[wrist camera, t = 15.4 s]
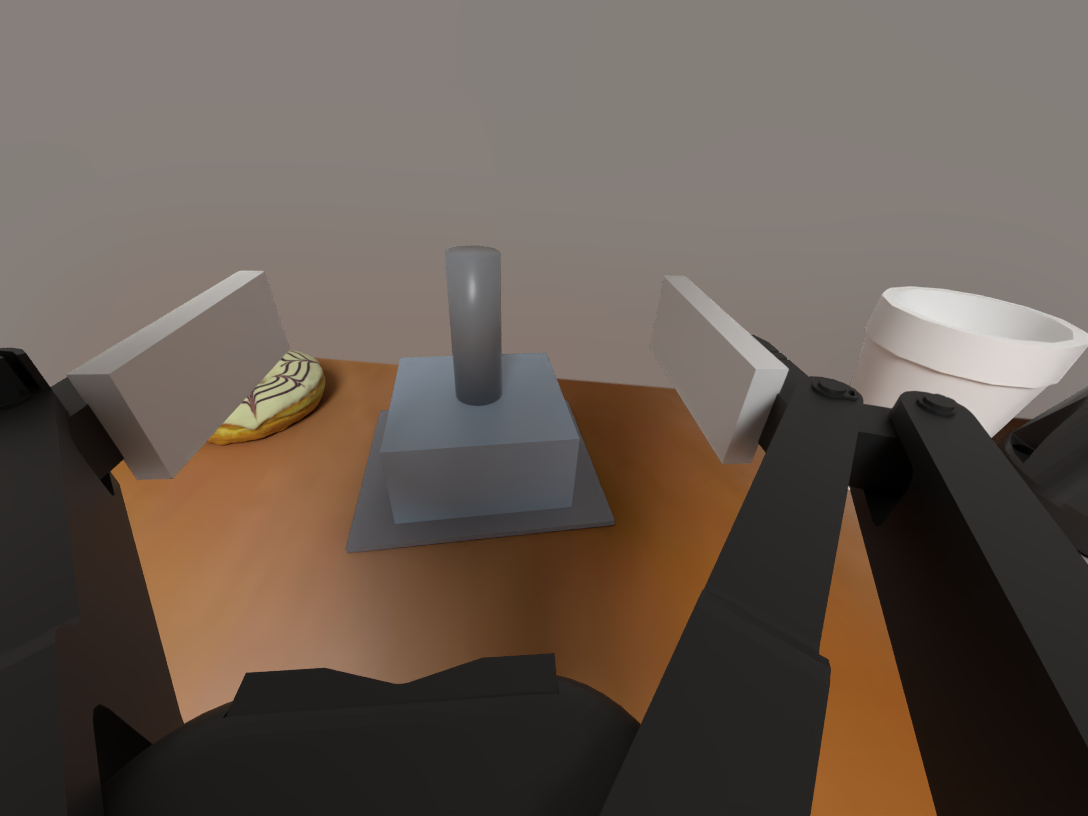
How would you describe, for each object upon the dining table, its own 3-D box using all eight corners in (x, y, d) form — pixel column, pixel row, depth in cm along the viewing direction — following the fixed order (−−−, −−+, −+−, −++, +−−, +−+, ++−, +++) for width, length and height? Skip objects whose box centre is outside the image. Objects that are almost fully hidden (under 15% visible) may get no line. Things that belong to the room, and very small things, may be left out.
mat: (567, 404, 39) (567, 400, 39) (614, 524, 27) (615, 520, 27) (380, 414, 36) (380, 410, 36) (347, 552, 25) (345, 548, 24)
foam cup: (796, 427, 37) (866, 278, 30) (920, 454, 35) (1027, 299, 28) (815, 502, 30) (913, 327, 23) (974, 542, 28) (1139, 362, 20)
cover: (543, 411, 37) (553, 231, 29) (571, 506, 28) (598, 284, 20) (410, 419, 35) (381, 229, 27) (394, 524, 26) (344, 286, 18)
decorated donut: (146, 440, 32) (120, 398, 30) (249, 372, 41) (235, 336, 39) (273, 459, 31) (256, 416, 29) (351, 385, 40) (342, 348, 38)
